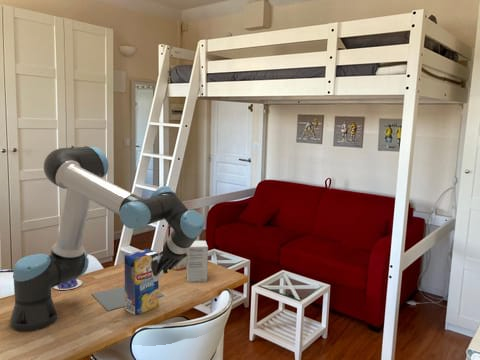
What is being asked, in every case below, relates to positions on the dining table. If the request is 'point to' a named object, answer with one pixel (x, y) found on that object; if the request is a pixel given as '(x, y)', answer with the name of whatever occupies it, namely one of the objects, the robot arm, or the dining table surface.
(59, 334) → the dining table surface
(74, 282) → the pudding
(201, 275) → the supplement box
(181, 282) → the dining table surface
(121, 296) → the mat
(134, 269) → the beverage box
